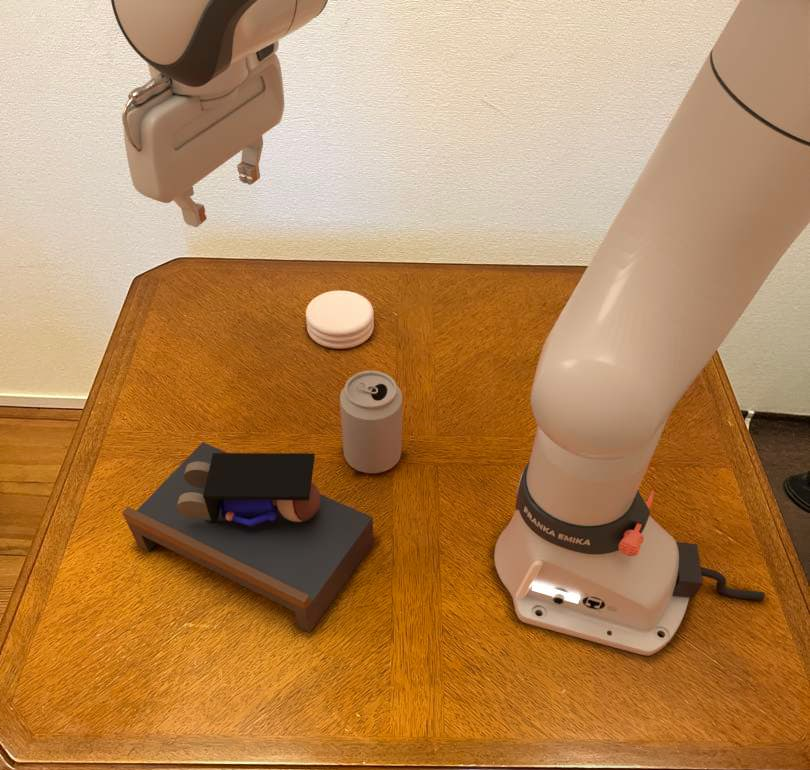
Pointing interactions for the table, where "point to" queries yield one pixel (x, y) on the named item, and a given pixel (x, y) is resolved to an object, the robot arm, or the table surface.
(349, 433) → the can
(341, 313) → the coaster
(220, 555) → the shelf
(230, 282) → the table surface
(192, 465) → the figurine character
